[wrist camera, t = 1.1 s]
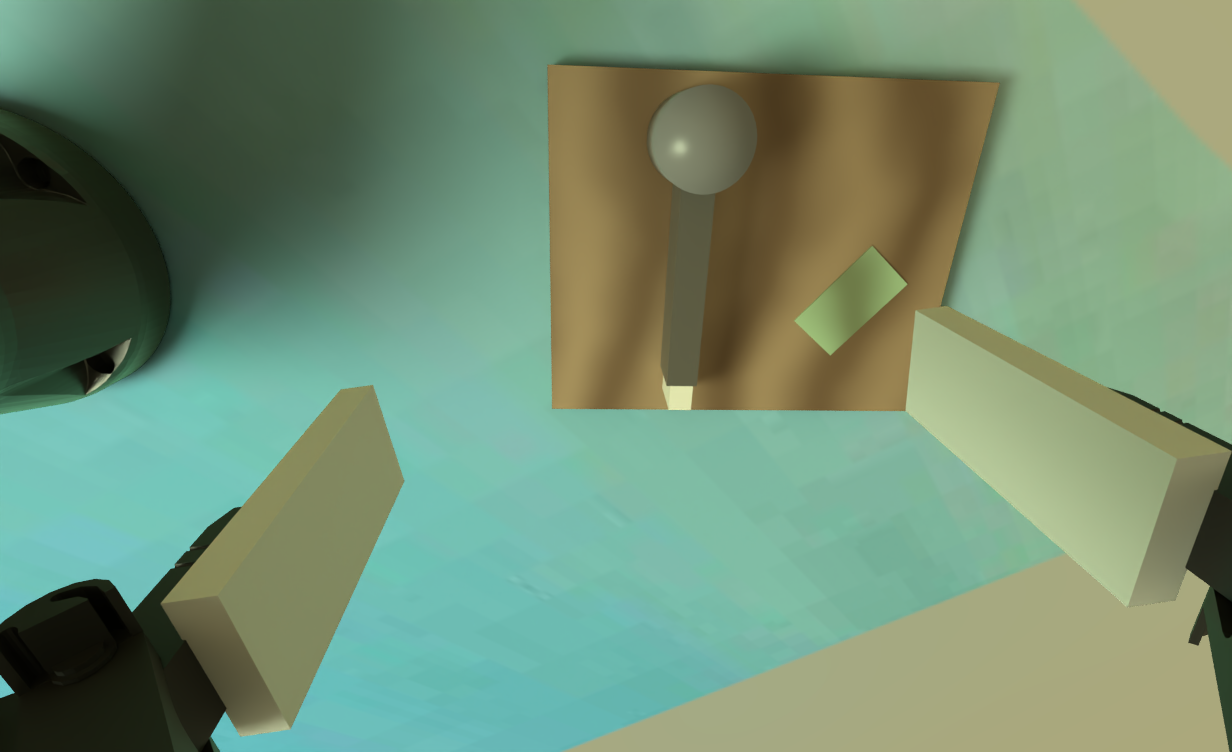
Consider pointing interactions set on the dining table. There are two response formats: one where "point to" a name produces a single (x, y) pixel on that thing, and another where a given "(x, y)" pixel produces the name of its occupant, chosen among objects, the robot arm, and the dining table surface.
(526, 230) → the dining table surface
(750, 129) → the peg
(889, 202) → the board
